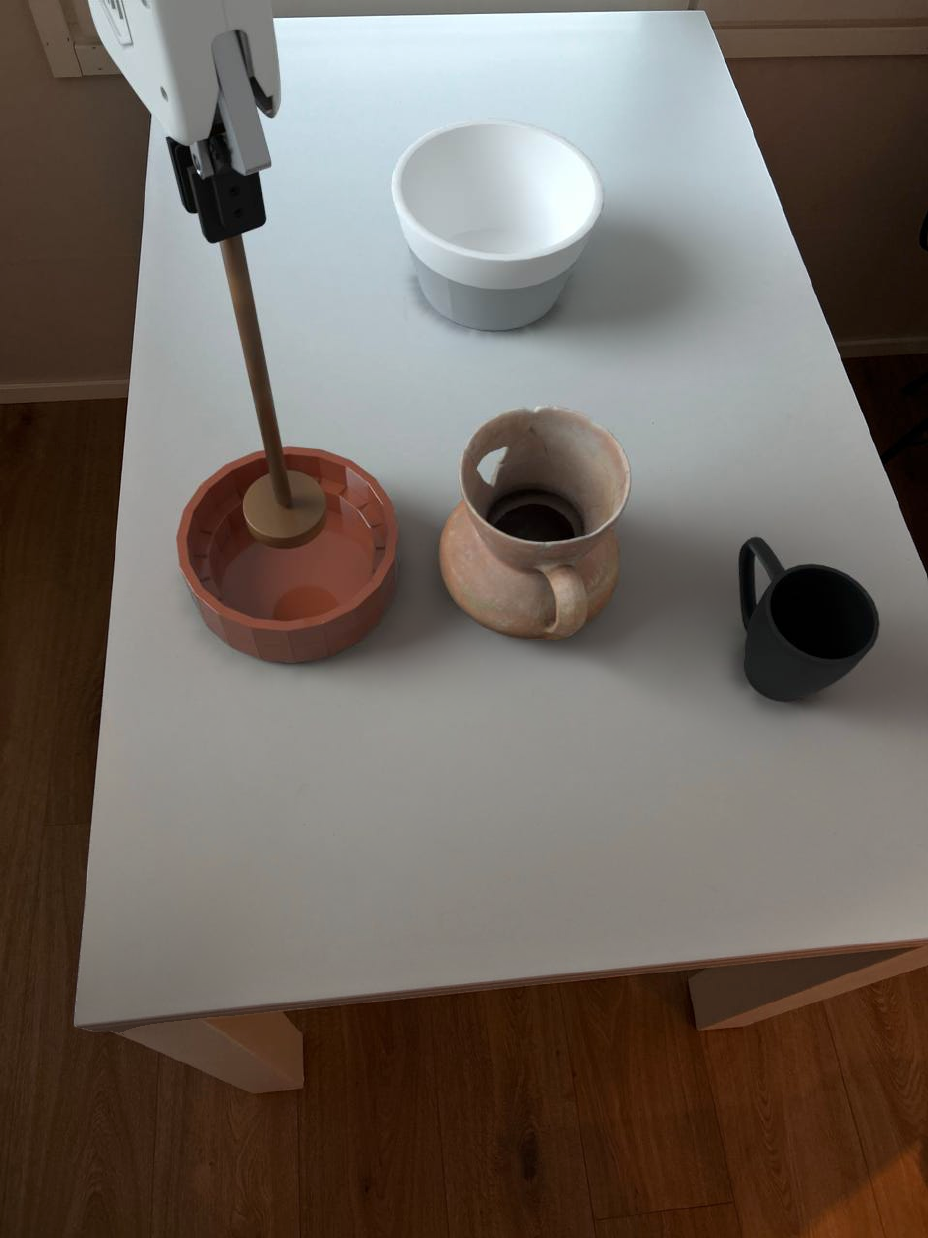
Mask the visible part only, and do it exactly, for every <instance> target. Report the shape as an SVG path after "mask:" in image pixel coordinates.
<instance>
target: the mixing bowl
mask: <svg viewBox="0 0 928 1238" xmlns="http://www.w3.org/2000/svg"><path fill="white" fill-rule="evenodd" d="M282 448H283V453H284V458H285V464H286V469H287V470H290V471H297V472H301V473H304V474H306V475H308V476H310V477H312V478H313V479H314V480H316V481H317V482H318V483H319V485H320V486H321V487H322V489H323V491H324V493H325V497H326V503H327V510H328V516H327V521H326V524H325V527H324V529H323V530H322V532H321V533H320V534H319V535H318V536H317V537H316V538H315V539H314V540H312V541H311V542H309V543H308V544H306V545H303V546H301V547H297V548H293V549H277V548H272V547H269V546H266V545H264V544H263V543H261V542H259V541H258V540H257V539H256V538H255V537H254V536H253V535H252V534H251V532H250V531H249V529H248V526H247V523H246V519H245V516H244V512H243V501H244V497H245V495H246V493H247V491H248V489H249V488H250V486H251V485H252V484H253V483H254V482H255V481H257V480H258V479H259V478H261V477H263V476H265V475H267V474H269V469H268V464H267V460H266V455H265V450H264V449H262V450H261V449H260V450H257V451H253V452H251V453H249V454H247V455H244V456H242V457H239V458H237V459H235V460H232V461H230V462H228V463H226V464H224V465H223V466H222V467H221V468H219V469H218V470H217V471H216V472H214V473H213V474H212V475H210V476H209V477H207V479H206V480H204V481H203V482H202V483H201V484H200V485H199V486H198V488H197V489H196V490H195V492H194V493H193V495H192V497H190V500H189V501H188V502H187V504H186V505H185V507H184V508H183V510H182V514H181V518H180V522H179V526H178V529H177V533H176V537H175V538H176V548H177V558H178V566H179V570H180V572H181V574H182V577H183V579H184V582H185V584H186V586H187V589H188V591H189V594H190V597H191V599H192V602H193V603H194V605H195V608H196V609H197V611H198V613H199V614H200V616H201V618H202V620H203V622H204V624H205V626H206V627H207V628H208V629H209V630H210V631H211V632H212V633H213V634H215V635H216V636H217V637H218V638H219V639H221V640H222V641H223V642H224V643H225V644H226V645H227V646H229V647H230V648H231V649H233V650H236V651H239V652H241V653H244V654H246V655H248V656H251V657H253V658H256V659H258V660H260V661H261V660H262V661H268V662H278V663H290V664H291V663H292V664H297V663H303V662H309V661H314V660H318V659H319V660H320V659H324V658H329V657H331V656H333V655H335V654H337V653H339V652H341V651H343V650H345V649H347V648H349V647H351V646H353V645H355V644H357V643H359V642H360V641H361V640H363V638H364V637H366V636H367V635H368V634H369V633H370V632H371V631H372V630H373V629H374V628H375V627H376V626H377V625H378V624H379V623H381V622H382V620H383V619H384V618H385V615H386V613H387V611H388V609H389V607H390V605H391V603H392V601H393V600H394V597H395V596H396V595H397V594H396V593H397V588H398V580H399V571H400V535H399V534H400V533H399V525H398V521H397V517H396V513H395V508H394V505H393V502H392V500H391V499H390V497H389V496H388V494H387V493H386V491H385V490H384V488H383V487H382V485H381V484H380V482H379V481H378V480H377V478H375V476H373V475H372V474H370V472H368V471H366V469H364V468H363V467H361V466H360V465H358V464H357V463H356V462H354V461H353V460H351V459H349V458H347V457H344V456H341V455H339V454H336V453H334V452H330V451H328V450H325V449H322V448H315V447H314V448H313V447H303V446H294V445H293V446H292V445H291V446H290V445H289V446H288V445H287V446H282Z"/></svg>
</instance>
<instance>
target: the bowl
mask: <svg viewBox="0 0 928 1238" xmlns="http://www.w3.org/2000/svg"><path fill="white" fill-rule="evenodd" d="M390 188H391V189H390V190H391V195H392V200H393V204H394V209H395V211H396V214H397V217H398V220H399V223H400V227H401V230H402V233H403V237H404V239H405V241H406V245H407V249H408V251H409V255H410V258H411V260H412V264H413V267H414V270H415V273H416V277H417V279H418V280H417V281H418V283H419V286H420V289H421V291H422V293H423V295H424V297H425V299H426V301H427V302H428V303H429V304H430V306H431V307H432V309H434V310H435V311H436V312H438V313H439V314H440V315H441V316H443V317H444V318H446V319H448V320H449V321H451V322H453V323H455V324H459V325H461V326H464V327H466V328H471V329H474V330H475V329H476V330H480V331H494V332H496V331H510V330H513V329H518V328H522V327H525V326H527V325H530V324H532V323H534V322H536V321H537V320H539V319H541V318H542V317H544V316H545V315H546V314H547V313H548V312H549V311H550V310H551V309H552V308H553V306H554V305H555V303H556V301H557V299H558V298H559V297H560V295H561V293H562V290H563V288H564V287H565V284H566V283H567V281H568V279H569V277H570V276H571V273H572V271H573V269H574V268H575V266H576V264H577V262H578V259H579V258H580V256H581V254H582V253H583V251H584V249H585V247H586V245H587V243H588V241H589V240H590V237H591V236H592V235H593V232H594V230H595V228H596V226H597V224H598V223H599V220H600V218H601V217H602V213H603V210H604V209H603V208H604V206H605V187H604V185H603V181H602V178H601V175H600V172H599V171H598V169H597V168H596V166H595V164H594V163H593V160H592V159H591V158H589V156H588V155H587V154H586V153H585V152H584V151H583V150H582V149H581V148H580V147H578V146H577V145H576V144H574V143H573V142H571V141H570V140H568V139H567V138H566V137H564V136H562V135H560V134H558V133H556V132H554V131H552V130H550V129H547V128H545V127H542V126H539V125H536V124H532V123H529V122H524V121H519V120H514V119H505V118H475V119H474V118H473V119H472V118H471V119H468V120H461V121H456V122H452V123H449V124H446V125H443V126H440V127H437V128H435V129H433V130H430V131H429V132H427V133H426V134H423V135H422V136H420V137H419V138H418V139H416V140H415V141H414V142H413V143H411V144H410V145H409V146H408V147H407V148H406V149H405V151H404V152H402V155H400V157H399V158H398V161H397V163H396V166H395V167H394V170H393V172H392V177H391V185H390Z"/></svg>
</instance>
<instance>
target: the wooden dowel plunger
mask: <svg viewBox="0 0 928 1238" xmlns="http://www.w3.org/2000/svg"><path fill="white" fill-rule="evenodd" d="M224 132H226V130H225V126H224V123H222V124H219V125H216V126H213V127H211V131H210V134H209V136H208V138H207V139H208V141H209V139H210V138H211V137H212V136H215V135H218V134H220V133H224ZM218 244H219V247H220V252H221V258H222V261H223V266H224V271H225V276H226V280H227V285H228V290H229V293H230V299H231V303H232V307H233V312H234V317H235V322H236V327H237V330H238V335H239V340H240V345H241V349H242V353H243V358H244V362H245V368H246V371H247V376H248V381H249V386H250V390H251V395H252V399H253V404H254V408H255V414H256V418H257V423H258V427H259V431H260V436H261V441H262V446H263V450H265V455H266V460H267V464H268V469H269V474H267V475H265V476H263V477H261V478H259V479H258V480H257V481H255V482H254V483H253V484H252V485H251V486H250V488H249V489H248V491H247V493H246V495H245V497H244V501H243V512H244V516H245V519H246V523H247V526H248V529H249V531H250V532H251V534H252V535H253V536H254V537H255V538H256V539H257V540H258V541H259V542H261V543H263V544H264V545H266V546H269V547H272V548H277V549H293V548H297V547H301V546H303V545H306V544H308V543H309V542H311V541H312V540H314V539H315V538H316V537H317V536H318V535H319V534H320V533H321V532H322V530H323V529H324V527H325V524H326V521H327V516H328V510H327V503H326V497H325V493H324V491H323V489H322V487H321V486H320V485H319V483H318V482H317V481H316V480H314V479H313V478H312V477H310V476H308V475H306V474H304V473H301V472H297V471H290V470H287V469H286V464H285V458H284V453H283V448H282V447H283V443H282V437H281V431H280V428H279V423H278V417H277V412H276V407H275V406H276V405H275V400H274V396H273V391H272V386H271V380H270V375H269V370H268V365H267V360H266V353H265V349H264V344H263V338H262V333H261V327H260V323H259V322H260V321H259V318H258V311H257V307H256V301H255V295H254V291H253V286H252V281H251V276H250V271H249V270H250V269H249V265H248V260H247V255H246V254H247V253H246V250H245V244H244V239H243V234H240V235H237V236H234V237H231V238H229V239H226V240H223V241H220V242H218Z"/></svg>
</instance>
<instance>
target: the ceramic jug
mask: <svg viewBox="0 0 928 1238" xmlns="http://www.w3.org/2000/svg"><path fill="white" fill-rule="evenodd" d="M503 448H505V450H504V451H503V453H502V454H501V455H500V457H499V458H498V460H497V463H496V465H495V468H494V471H493V473H492V475H491V478H490V479H491V480H490V481H489V483H488V482H487V481H485V480H484V478H483V476H482V475H481V472H479V470H478V467H479V465H480V464H481V462H482V460H483V459H484V458H485V457H487V455H488V454H490V453H493V452H494V451H498V450H501V449H503ZM629 460H630V459H629V457H628V455H627V454H626V452H625V449H624V447H623V446H622V444H621V442H619V440H618V439H617V438H616V437H615V436H614V434H613V432H611V431H610V430H609V429H607V427H605V426H604V425H603V424H601V423H599V422H598V421H597V420H595V419H594V418H592V417H590V416H588V415H587V414H584V413H583V412H579V411H577V410H574V409H570V408H567V407H562V406H556V405H541V404H540V405H538V406H536V407H535V408H534V409H530V408H529V409H528V408H527V407H524V406H520V407H514V408H511V409H507V410H505V411H502V412H500V413H498V414H497V415H494V416H492V417H490V418H489V419H488V420H486V421H485V422H483V423H482V424H481V425H480V426H479V427H478V428H477V429H475V431H474V433H473V434H471V436H470V438H469V439H468V441H467V443H466V444H465V446H464V449H463V451H462V453H461V456H460V461H459V466H458V483H459V490H460V494H461V495H460V496H461V498H462V499H461V501H460V503H458V505H456V507H455V508H454V509H453V510H452V512H451V513H450V515H449V517H448V518H447V520H446V522H445V524H444V526H443V529H442V531H441V534H440V538H439V545H438V562H439V563H438V564H439V570H440V575H441V577H442V580H443V583H444V585H445V587H446V589H447V592H448V593H449V595H450V596H451V598H452V600H453V601H454V602H455V603H456V605H457V606H458V607H459V608H460V609H461V610H462V612H463V613H465V614H466V615H467V616H468V617H469V618H470V619H472V620H473V621H474V622H476V623H477V624H478V625H480V626H482V627H484V628H485V629H487V630H490V631H491V632H494V633H496V634H499V635H502V636H505V637H509V638H513V639H519V640H520V639H521V640H529V641H546V640H551V641H561V640H563V639H564V638H567V637H570V636H572V635H573V634H575V633H576V632H577V631H578V630H579V629H581V628H582V627H583V626H586V624H588V623H589V622H591V621H592V620H593V619H594V618H595V617H597V615H598V614H600V613H601V612H602V611H603V610H604V608H605V607H606V605H607V604H608V602H609V601H610V600H611V598H612V596H613V594H614V592H615V589H616V586H617V584H618V580H619V576H620V570H621V569H620V568H621V553H620V547H619V543H618V539H617V536H616V533H615V531H614V529H613V528H614V527H615V525H616V524H617V522H619V520H620V517H621V516H622V515H623V513H624V510H625V509H626V507H627V504H628V502H629V498H630V494H631V489H632V468H631V464H630V461H629Z"/></svg>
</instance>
